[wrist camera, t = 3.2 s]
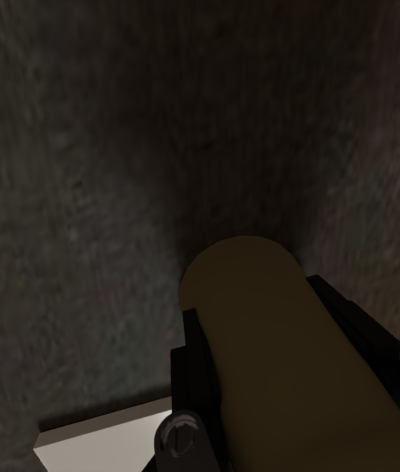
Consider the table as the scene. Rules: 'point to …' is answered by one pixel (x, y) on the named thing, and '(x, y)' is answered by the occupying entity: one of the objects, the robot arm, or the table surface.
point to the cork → (286, 367)
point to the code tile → (105, 441)
